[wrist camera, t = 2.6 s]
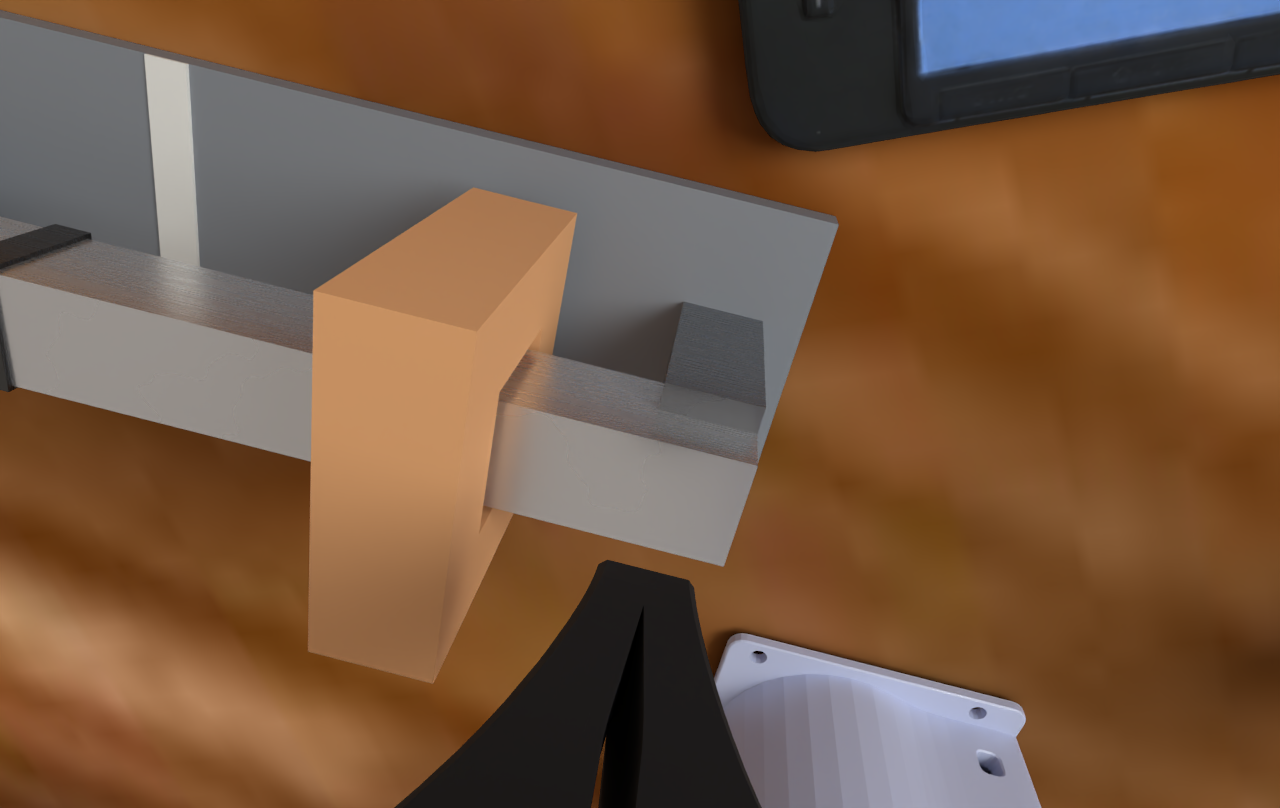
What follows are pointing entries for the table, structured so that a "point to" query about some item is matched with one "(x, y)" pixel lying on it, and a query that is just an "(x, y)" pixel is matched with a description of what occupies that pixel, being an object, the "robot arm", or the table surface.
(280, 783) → the table surface
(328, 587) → the collar
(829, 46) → the handheld game console
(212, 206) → the board
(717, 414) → the grey rail plate
